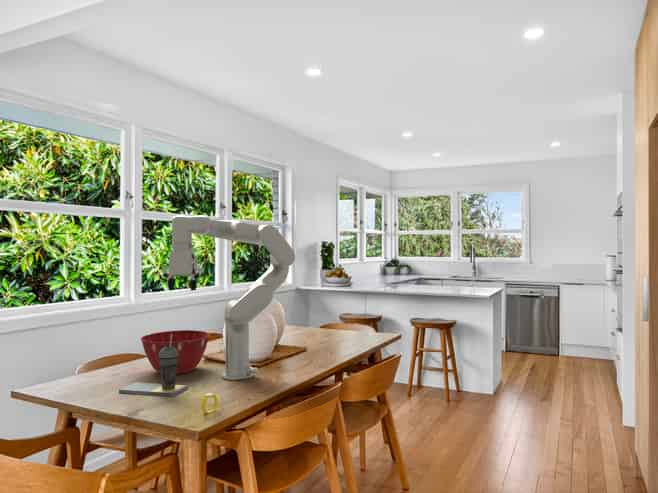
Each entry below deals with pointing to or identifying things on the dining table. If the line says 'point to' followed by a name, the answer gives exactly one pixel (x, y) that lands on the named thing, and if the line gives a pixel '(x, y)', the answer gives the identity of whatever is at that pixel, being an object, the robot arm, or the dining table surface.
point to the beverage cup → (168, 366)
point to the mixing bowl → (177, 347)
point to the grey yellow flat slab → (151, 389)
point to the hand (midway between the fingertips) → (182, 290)
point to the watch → (205, 402)
